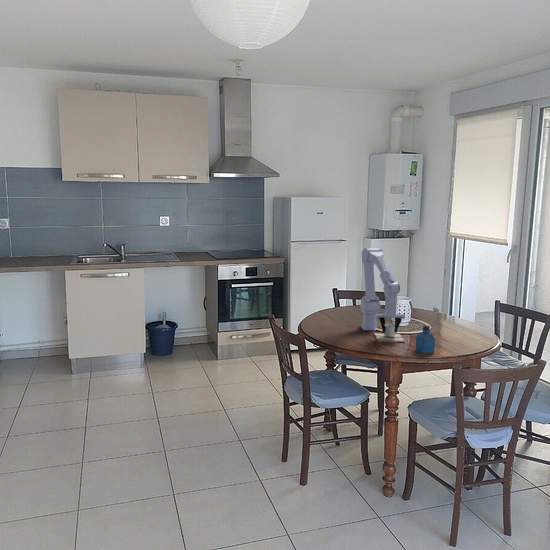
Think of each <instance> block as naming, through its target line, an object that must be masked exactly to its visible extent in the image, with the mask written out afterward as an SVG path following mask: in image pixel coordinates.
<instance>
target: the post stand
mask: <svg viewBox="0 0 550 550" xmlns="http://www.w3.org/2000/svg"><path fill="white" fill-rule="evenodd" d="M373 335H375V336H374V337H375V339H376V341H377V342H378V343H397V342H406V341H405V339H404V338H403V336H402V335H401V333H395V336H394V337H387V336H384V333H383V332H374V333H373Z"/></svg>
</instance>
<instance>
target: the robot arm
mask: <svg viewBox="0 0 550 550" xmlns="http://www.w3.org/2000/svg"><path fill="white" fill-rule="evenodd" d="M361 263H362V264H363V274H364V275H363V276H364V291H365V292H364V293H365V295H364V296H362V297H361V298H360V306H359V307H360V311H361V312H362V313H363V315H362V324H360V327H361V329H362V330H363V331H376V330H378V331H379V329H378V328H377V321H378V320H379V322H380V326H381V329H382V330H381V333H384V332H385V325H386V319H394V325H395V326H396V328H395V333H396V334H398V333H397V332H398V329H399V327H400V324H402V321H403V320H405V319H406V315H405V314H401V313H397V305H398V294H399V293H400V291H401V285H400V283H399V282H397V281H396V280H395V279H394V276H393V275H392V272H391V271H390V270H389V269H387V267H386V264H385V260H384V251H383V249H382V248H381V247H364V248H363V250H362V251H361ZM374 266H376V267H377V269H378V271H379V272H380V274H379V277H380V280H381V282H382V284H383V285H384V286H383V292H384V298H385V299H384V300H385V303H384V313H379V312H380V310H381V309H382V308H381V307H382V305H381V302H380V297H379V296H378V295H376V287H375V284H376V283H375V269H374ZM377 319H378V320H377Z"/></svg>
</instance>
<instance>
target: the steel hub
mask: <svg viewBox="0 0 550 550" xmlns="http://www.w3.org/2000/svg"><path fill="white" fill-rule="evenodd" d="M395 328H396V326H395V324H390V323H389V324H388V323H387V324H386V323H385V332H384V336H387V337H394V336H395Z"/></svg>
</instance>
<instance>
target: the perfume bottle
mask: <svg viewBox="0 0 550 550" xmlns="http://www.w3.org/2000/svg"><path fill="white" fill-rule="evenodd" d="M430 327H431V326H429V325H422V328H421V329H422V330H421V331H422V332H421V331H420V332H419V333H418V334H417V335H416V337H415V349H416V350H415V351H417V350H418V351H417V352H419V353H421V354H433V353H432V352H434V353H435V347H436V346H435V345H436V339H435V337H434V335H433V334H432V333H430V332H431V328H430Z"/></svg>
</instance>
